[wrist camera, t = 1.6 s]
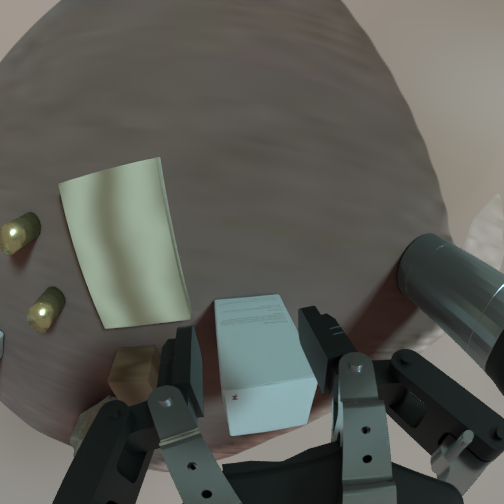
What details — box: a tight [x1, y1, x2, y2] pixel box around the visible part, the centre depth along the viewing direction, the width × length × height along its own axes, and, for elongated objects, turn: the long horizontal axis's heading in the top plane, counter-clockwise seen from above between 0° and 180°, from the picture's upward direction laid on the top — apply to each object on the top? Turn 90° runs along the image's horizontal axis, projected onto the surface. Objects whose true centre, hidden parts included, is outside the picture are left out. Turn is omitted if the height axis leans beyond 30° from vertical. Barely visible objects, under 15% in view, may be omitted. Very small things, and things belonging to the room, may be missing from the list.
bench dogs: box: [0, 212, 65, 332], centre depth 22 cm, size 3×12×5 cm, turn 6°
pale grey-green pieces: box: [59, 157, 191, 329], centre depth 25 cm, size 10×16×2 cm, turn 6°
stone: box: [69, 395, 118, 457], centre depth 29 cm, size 14×6×10 cm, turn 122°
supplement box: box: [214, 294, 318, 436], centre depth 25 cm, size 7×7×13 cm
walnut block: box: [107, 345, 161, 406], centre depth 28 cm, size 5×5×6 cm
